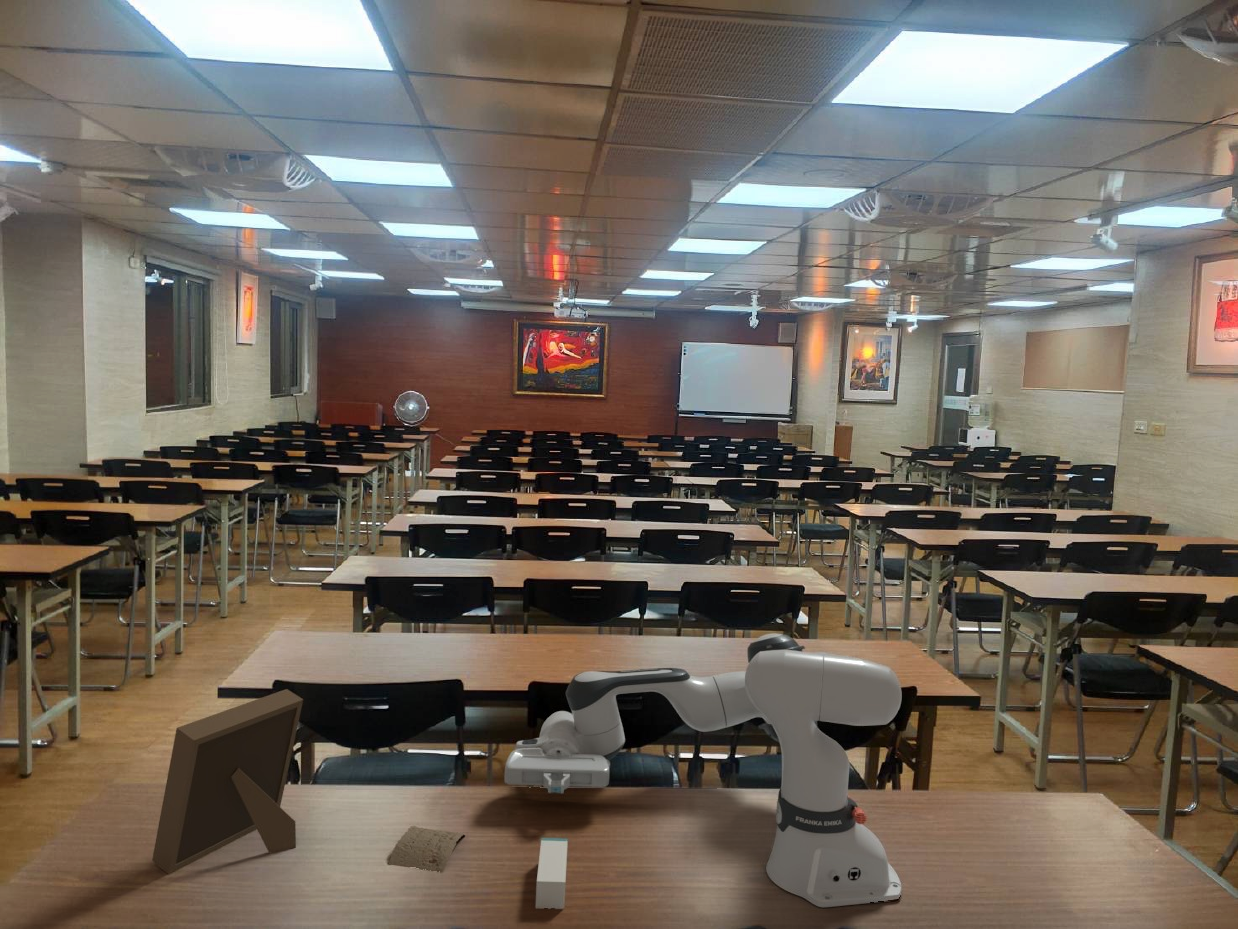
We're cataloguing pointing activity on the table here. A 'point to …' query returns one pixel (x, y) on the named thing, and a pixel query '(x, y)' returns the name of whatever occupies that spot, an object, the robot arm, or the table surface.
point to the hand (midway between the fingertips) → (555, 789)
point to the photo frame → (229, 781)
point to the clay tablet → (424, 849)
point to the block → (551, 873)
